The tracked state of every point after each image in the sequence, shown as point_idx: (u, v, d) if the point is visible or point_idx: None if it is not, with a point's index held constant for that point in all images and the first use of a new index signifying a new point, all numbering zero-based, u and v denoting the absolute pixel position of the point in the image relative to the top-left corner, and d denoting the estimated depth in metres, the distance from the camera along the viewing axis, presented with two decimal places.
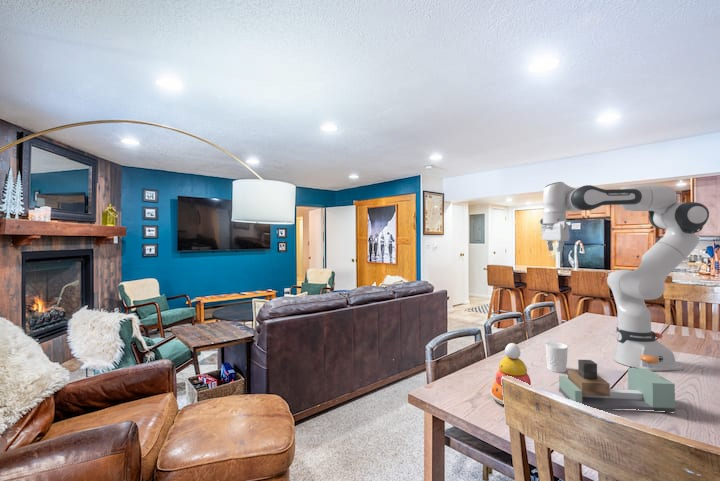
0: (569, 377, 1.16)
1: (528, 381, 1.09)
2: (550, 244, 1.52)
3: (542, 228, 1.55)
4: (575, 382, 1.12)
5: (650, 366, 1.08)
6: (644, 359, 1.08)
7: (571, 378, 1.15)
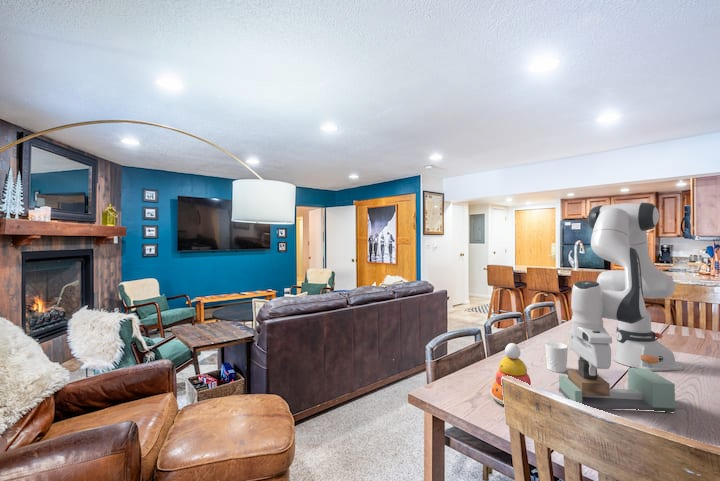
0: (569, 377, 1.16)
1: (528, 381, 1.09)
2: None
3: None
4: (575, 382, 1.12)
5: (650, 366, 1.08)
6: (644, 359, 1.08)
7: (571, 378, 1.15)
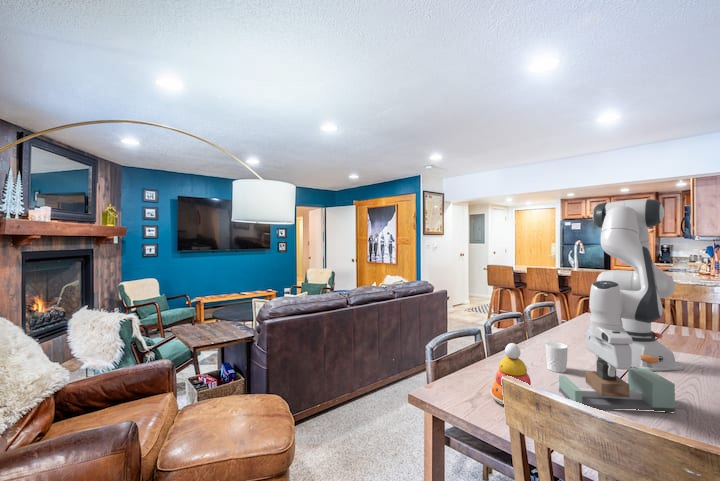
0: (587, 378, 1.15)
1: (528, 381, 1.09)
2: None
3: None
4: (594, 383, 1.11)
5: (650, 366, 1.08)
6: (644, 359, 1.08)
7: (589, 379, 1.14)
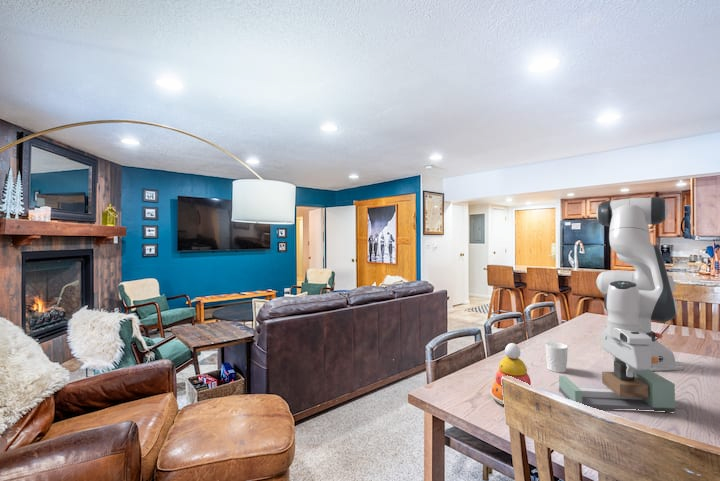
0: (604, 378, 1.14)
1: (528, 381, 1.09)
2: None
3: None
4: (611, 384, 1.10)
5: None
6: None
7: (606, 379, 1.13)
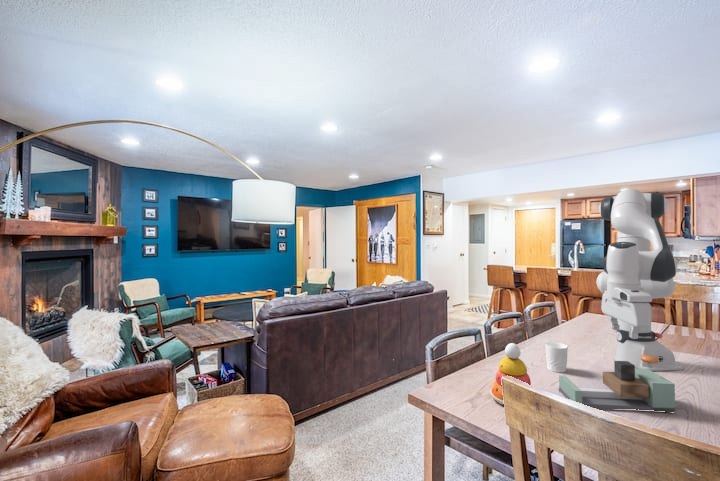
0: (605, 378, 1.14)
1: (528, 381, 1.09)
2: None
3: None
4: (612, 384, 1.10)
5: (650, 366, 1.08)
6: (644, 359, 1.08)
7: (607, 379, 1.13)
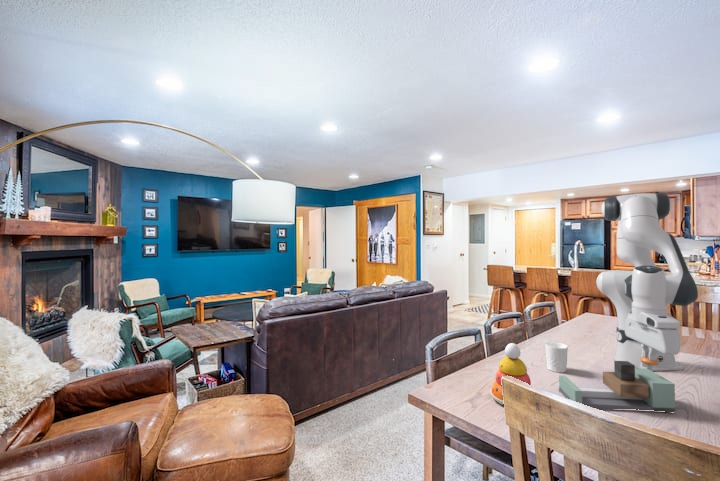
0: (605, 378, 1.14)
1: (528, 381, 1.09)
2: None
3: None
4: (612, 384, 1.10)
5: (650, 368, 1.08)
6: (644, 361, 1.08)
7: (607, 379, 1.13)
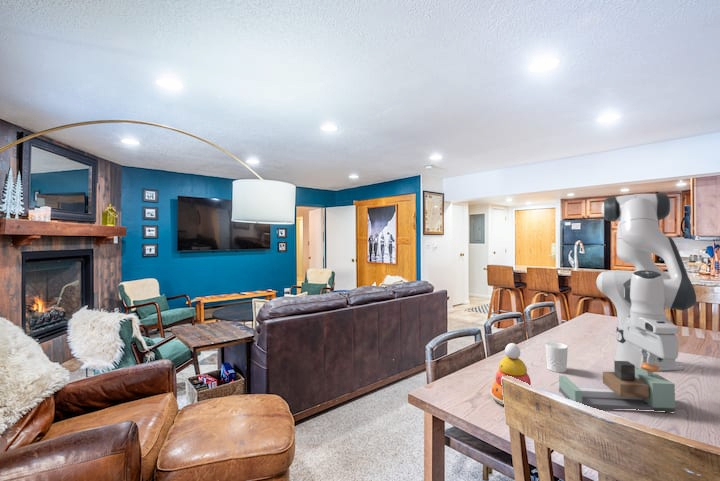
0: (605, 378, 1.14)
1: (528, 381, 1.09)
2: None
3: None
4: (612, 384, 1.10)
5: (650, 374, 1.08)
6: (644, 367, 1.08)
7: (607, 379, 1.13)
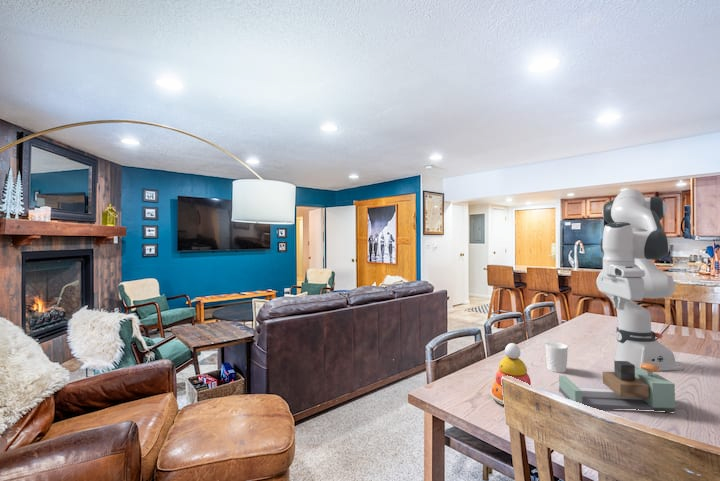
0: (605, 378, 1.14)
1: (528, 381, 1.09)
2: None
3: None
4: (612, 384, 1.10)
5: (650, 374, 1.08)
6: (644, 367, 1.08)
7: (607, 379, 1.13)
